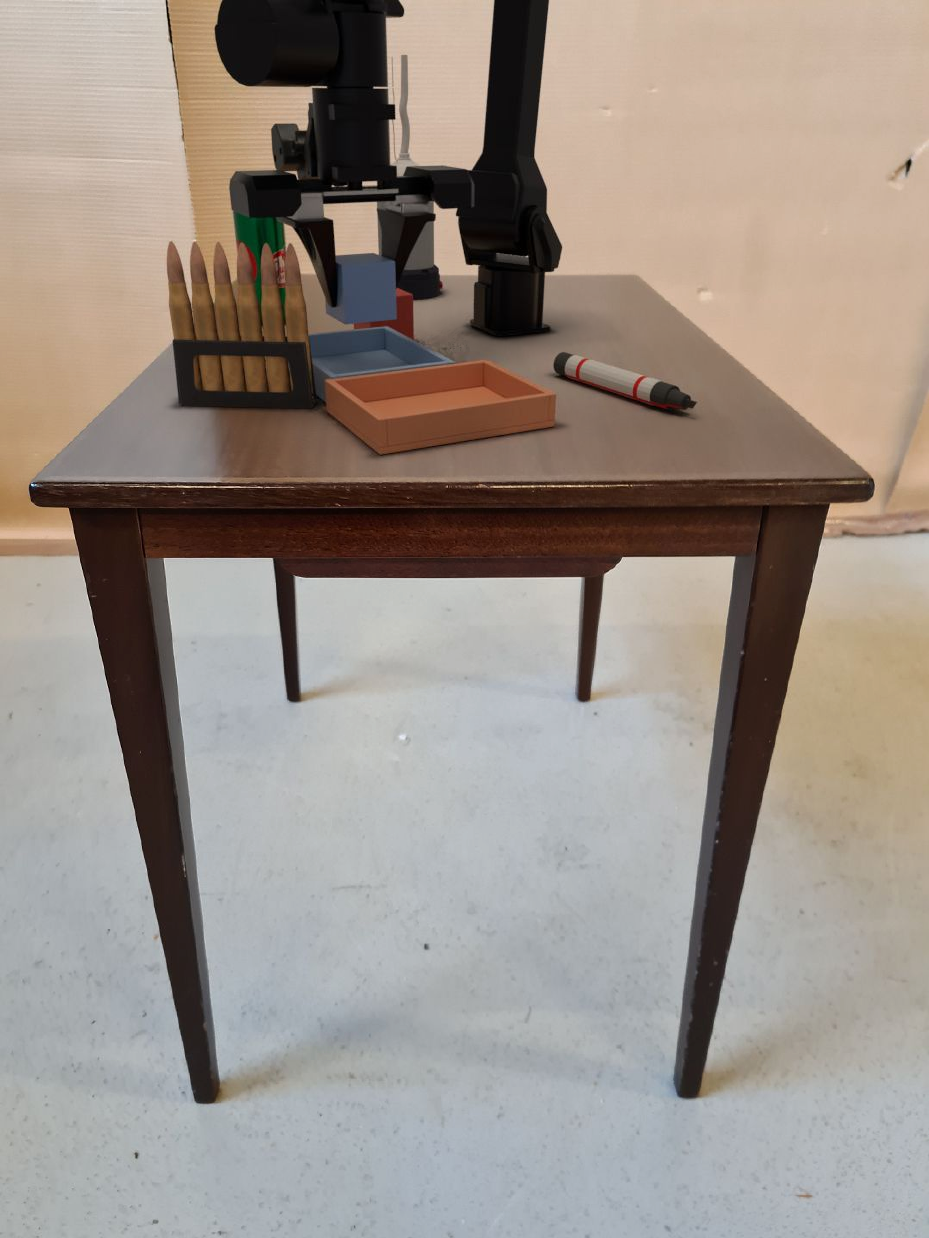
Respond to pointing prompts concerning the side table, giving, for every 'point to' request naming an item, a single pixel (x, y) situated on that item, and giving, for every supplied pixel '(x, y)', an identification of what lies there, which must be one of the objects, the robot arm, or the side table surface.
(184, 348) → the ammunition clip
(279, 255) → the soda can
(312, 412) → the side table surface
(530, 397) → the terracotta tray
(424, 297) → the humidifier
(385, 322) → the red block
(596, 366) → the marker
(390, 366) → the blue tray
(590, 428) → the side table surface
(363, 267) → the blue block
